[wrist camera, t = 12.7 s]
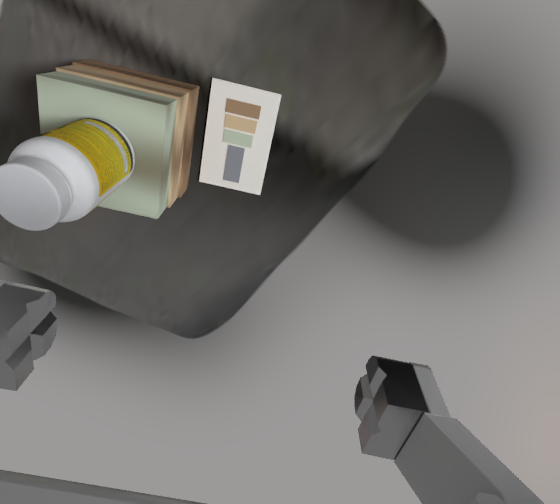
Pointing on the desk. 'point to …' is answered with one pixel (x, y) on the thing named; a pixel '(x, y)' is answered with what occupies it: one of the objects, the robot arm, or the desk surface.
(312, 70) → the desk surface
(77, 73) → the brick tower
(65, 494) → the robot arm
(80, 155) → the supplement bottle
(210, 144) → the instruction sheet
